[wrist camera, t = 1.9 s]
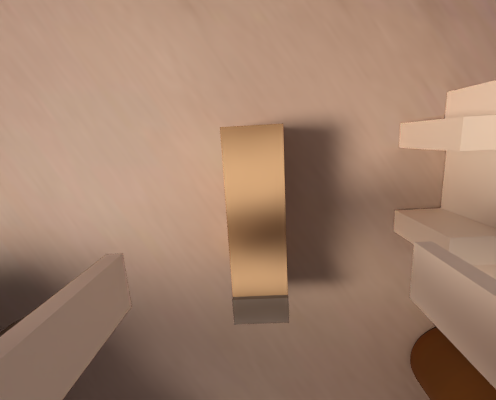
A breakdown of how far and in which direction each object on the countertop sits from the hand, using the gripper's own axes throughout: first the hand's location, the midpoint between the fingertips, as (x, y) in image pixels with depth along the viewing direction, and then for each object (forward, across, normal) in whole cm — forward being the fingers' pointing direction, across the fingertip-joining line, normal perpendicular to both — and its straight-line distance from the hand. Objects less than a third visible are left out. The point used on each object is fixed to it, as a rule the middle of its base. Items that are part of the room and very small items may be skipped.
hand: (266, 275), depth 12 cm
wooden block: (+12, 0, 0) cm, 13 cm away
